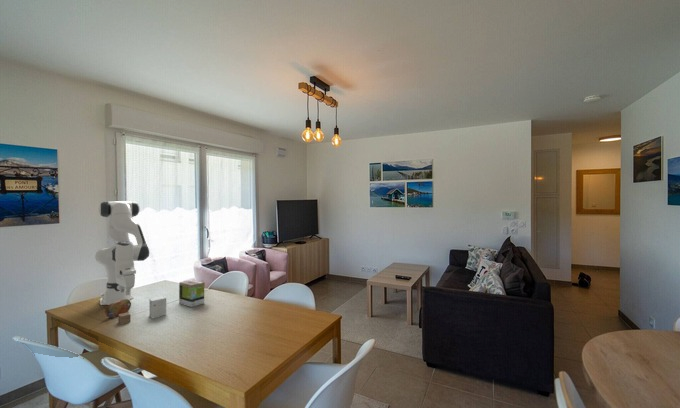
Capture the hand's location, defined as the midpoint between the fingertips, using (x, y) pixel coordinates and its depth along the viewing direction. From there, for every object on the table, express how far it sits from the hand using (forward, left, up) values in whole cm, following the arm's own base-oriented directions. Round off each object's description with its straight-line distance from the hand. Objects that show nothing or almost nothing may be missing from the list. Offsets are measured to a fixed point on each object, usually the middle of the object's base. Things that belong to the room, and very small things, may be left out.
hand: (124, 293), depth 166 cm
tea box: (-2, +39, -17) cm, 42 cm away
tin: (-16, +1, -17) cm, 23 cm away
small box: (+4, +16, -17) cm, 23 cm away
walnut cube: (0, 0, -17) cm, 17 cm away
